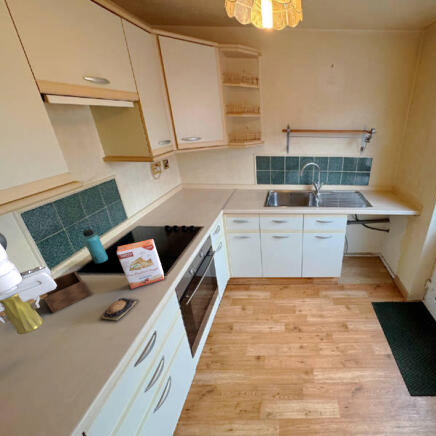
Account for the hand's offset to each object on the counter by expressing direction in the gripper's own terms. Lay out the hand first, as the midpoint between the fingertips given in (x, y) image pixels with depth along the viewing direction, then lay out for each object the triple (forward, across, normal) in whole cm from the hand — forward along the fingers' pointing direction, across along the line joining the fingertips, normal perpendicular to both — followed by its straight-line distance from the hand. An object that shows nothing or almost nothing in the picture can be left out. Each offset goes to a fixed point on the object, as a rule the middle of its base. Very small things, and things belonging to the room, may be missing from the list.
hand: (22, 314), depth 74 cm
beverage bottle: (+17, -29, -44) cm, 55 cm away
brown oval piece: (+16, -22, +2) cm, 28 cm away
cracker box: (+16, -38, -7) cm, 42 cm away
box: (+16, -11, -25) cm, 32 cm away
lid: (+8, 0, -25) cm, 26 cm away
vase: (+6, 0, 0) cm, 6 cm away
